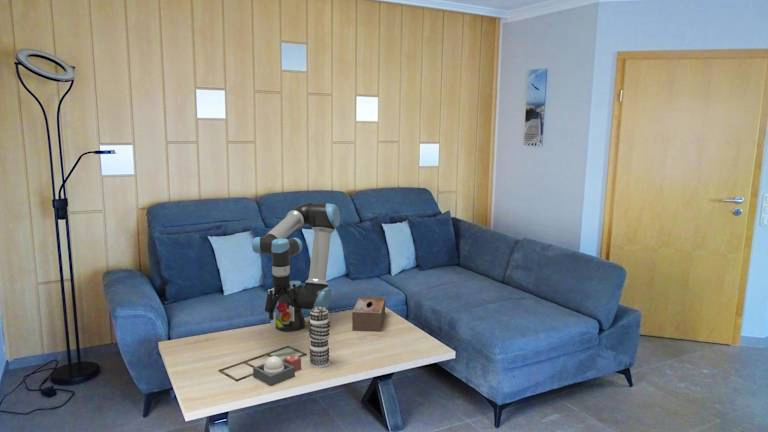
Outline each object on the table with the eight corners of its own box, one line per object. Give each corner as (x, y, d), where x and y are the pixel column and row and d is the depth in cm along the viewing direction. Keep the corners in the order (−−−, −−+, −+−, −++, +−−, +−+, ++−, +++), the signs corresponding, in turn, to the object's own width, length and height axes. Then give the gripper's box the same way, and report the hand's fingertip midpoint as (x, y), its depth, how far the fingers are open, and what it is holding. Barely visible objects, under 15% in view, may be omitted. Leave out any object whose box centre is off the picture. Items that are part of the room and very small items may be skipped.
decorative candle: (321, 370, 233) (320, 313, 229) (304, 364, 237) (303, 309, 233) (334, 362, 240) (334, 307, 236) (317, 357, 245) (317, 303, 241)
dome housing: (253, 376, 226) (252, 363, 225) (288, 363, 239) (288, 351, 238) (270, 386, 218) (270, 372, 217) (306, 371, 231) (306, 359, 230)
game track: (218, 371, 231) (218, 369, 231) (288, 346, 257) (288, 345, 257) (236, 381, 222) (236, 380, 222) (306, 354, 248) (306, 353, 248)
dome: (260, 374, 226) (259, 357, 225) (276, 368, 232) (275, 351, 230) (271, 380, 221) (271, 362, 219) (287, 374, 226) (287, 356, 225)
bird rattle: (283, 326, 249) (267, 323, 243) (291, 303, 250) (275, 299, 244) (291, 330, 244) (274, 327, 238) (299, 306, 246) (282, 302, 239)
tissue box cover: (359, 314, 303) (359, 296, 301) (385, 315, 302) (385, 297, 300) (352, 331, 278) (352, 312, 276) (380, 332, 276) (381, 313, 275)
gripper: (264, 281, 230) (266, 332, 234) (306, 271, 246) (307, 319, 250) (254, 277, 235) (256, 327, 239) (296, 268, 251) (297, 314, 255)
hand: (282, 323), depth 245 cm, fingers closed on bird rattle, 9 cm apart
